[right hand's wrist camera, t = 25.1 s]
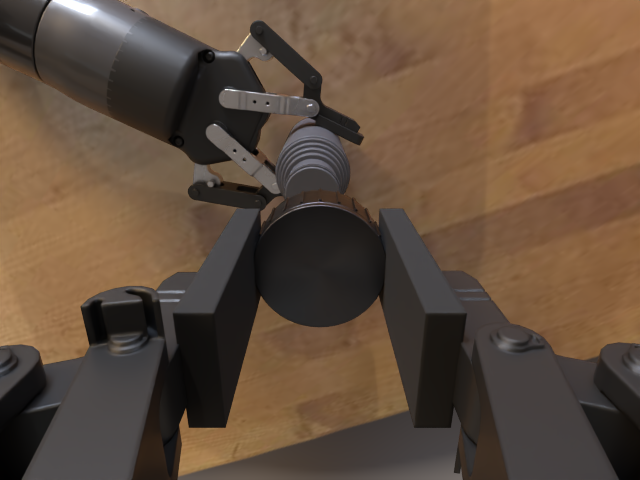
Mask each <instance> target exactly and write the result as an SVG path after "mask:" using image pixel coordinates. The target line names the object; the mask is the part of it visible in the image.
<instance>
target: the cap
mask: <svg viewBox="0 0 640 480" xmlns="http://www.w3.org/2000/svg"><path fill="white" fill-rule="evenodd" d="M258 236H260V238H259V240H258V243H257V246H256V249H255V252H254V270H255V283H256V286H257V288H258V291H259V293H260V294H261V296H262V298H263V299H264V300H265V302H266V303H267V304H268V305H269V306H270V307H271V308H272V309H273V310H274V311H275V312H277V313H278V314H279V315H280V316H282V317H284V318H286V319H287V320H290V321H292V322H294V323H297V324H301V325H305V326H310V327H329V326H335V325H339V324H342V323H345V322H348V321H350V320H352V319H354V318H356V317H358V316H359V315H361V314H362V313H363V312H365V311H366V310H367V309H368V308H369V307H370V306H371V305H372V304H373V302H374V301H375V300H376V299H377V297H378V295H379V294H380V292H381V290H382V288H383V285H384V281H385V265H386V253H385V250H384V246H383V244H382V241H381V238H380V237H382V236H381V233H380V231H379V228H378V225H377V223H376V222H374V221H373V219H372V218H371V216H370V215H369V212H368V209H367V208H366V209H364V208H363V207H362V206H361V205H360V204H359V203H358V202H356V201H355V198H349V197H347V196H345V195H343V194H340V193H339V191H336V192H332V191H326V190H322V189H319V190H314V191H307V192H304V191H302V192H301V193H300V194H297V195H294V196H292V197H290V198H288V197H287V198H286V199H285V201H284V202H282V203H281V204H280V205H279V206H277V207H276V208H273V209H272V212H271V214H270V216H269V217H268V219H267V221H264V222H263V225H262V227H261V230H260V233H259V235H258Z"/></svg>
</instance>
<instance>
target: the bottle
mask: <svg viewBox="0 0 640 480" xmlns="http://www.w3.org/2000/svg"><path fill="white" fill-rule="evenodd" d="M275 176H276V182H277V185H278V188H279V190H280V192H281V194H282V196H283V197H284V198H285V199H286V198H287V197H288V198H290V197H292V196H294V195H297V194H300V193H301V192H302V191H304V192H307V191H314V190H319V189H322V190H326V191H332V192H336V191H339V193H340V194H343V195H344V193H345V192H346V189H347V187H348V184H349V180H350V166H349V162H348V159H347V157H346V154H345V152H344V149H343V147H342V144H341V142H340V139H339V137H338V135H337V134H335V133H332V132H330V131H329V130H327V129H325V128H322V127H320V126H318V125H316V124H315V120H313V119H311V118H306V119H304V120H301V121H300V122H298V123H297V124H296V125H295V126H294V127H293V128H292V130H291V132H290V134H289V136H288V138H287V140H286V142H285V145H284V147H283V149H282V151H281V153H280V155H279V158H278V160H277V164H276V170H275Z"/></svg>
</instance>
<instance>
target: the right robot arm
mask: <svg viewBox="0 0 640 480" xmlns="http://www.w3.org/2000/svg"><path fill="white" fill-rule="evenodd" d="M260 230H261V216H260V209H236V211H235V213H234V214H233V216H232V218H231V219H230V221H229V222H228V224H227V226H226V227H225V229H224V230H223V232H222V234H221V235H220V237H219V239H218V240H217V242H216V243H215V245H214V247H213V248H212V250H211V252H210V253H209V255H208V256H207V258H206V260H205V261H204V263H203V264H202V266H201V268H200V269H199V271H198V272H177V273H176V274H174V275H172V276H171V277H169V278H167V279H166V280H164V281H163V282H162V283H161V285H160V286H159V287H158V289H157V290H156V291H155V290H154V289H152V288H148V287H143V286H126V287H120V288H114V289H111V290H108V291H105V292H102V293H99V294H97V295H95V296H93V297H92V298H90V299H88V300H87V301H86V302H85V303H84V304H83V305H82V306H81V311H82V315H83V319H84V324H85V328H86V332H87V337H88V341H89V345H90V347H89V349H88V350H87V352H86V354H85V356H84V357H80V358H76V359H72V360H66V361H61V362H56V363H51V364H45V365H43V363H42V360H41V356H40V353H39V351H38V350H37V349H35V348H34V347H33V346H27V345H10V346H8V345H7V346H1V347H0V480H177V478H178V470H179V462H180V454H181V446H182V443H181V435H180V429H179V423H180V421H181V418H182V416H183V414H184V411H185V409H186V411H187V418H188V425H189V428H226V424H227V420H228V416H229V413H230V409H231V405H232V401H233V398H234V394H235V390H236V386H237V383H238V379H239V375H240V371H241V368H242V364H243V360H244V356H245V353H246V349H247V345H248V341H249V338H250V334H251V330H252V326H253V323H254V319H255V315H256V311H257V308H258V304H259V300H260V296H261V294H260V293H259V291H258V288H257V286H256V283H255V270H254V252H255V249H256V246H257V243H258V240H259V238H260V236H258V235H259V233H260ZM379 231H380V233H381V236H382V237H380V238H381V241H382V244H383V246H384V250H385V253H386V265H385V281H384V285H383V288H382V290H381V292H380V294H379V297H380V301H381V305H382V309H383V313H384V316H385V320H386V324H387V328H388V331H389V335H390V339H391V343H392V346H393V350H394V354H395V358H396V361H397V365H398V369H399V373H400V376H401V380H402V384H403V388H404V391H405V395H406V399H407V403H408V406H409V410H410V414H411V418H412V421H413V425H414V428H451V423H452V416H453V409H454V407H455V410H456V412H457V414H458V417H459V419H460V422H461V429H460V436H459V442H458V448H457V455H456V461H455V468H454V473H460V469H462V477H463V480H640V344H635V343H632V344H631V343H613V344H607V345H606V346H605V347H604V348H602V349H601V351H600V355H599V359H598V362H597V363H595V362H589V361H584V360H579V359H573V358H568V357H563V356H559V355H555V354H554V352H553V350H552V348H551V346H550V345H549V343H548V342H547V341H546V340H545V339H544V337H542V336H540V335H539V334H537V333H536V332H534V331H533V330H530V329H527V328H525V327H522V326H520V325H515V324H510V322H509V321H508V320H507V319H506V317H505V316H504V315H503V313H502V312H501V311H500V309H499V308H498V307H497V305H496V304H495V303H494V302H493V301H491V298H490V296H489V295H488V294H487V292H485V290H484V288H483V287H482V286H481V285H480V283H479V282H478V281H477V279H475V278H473V277H472V276H470V275H468V274H467V273H465V272H463V271H441V270H440V268H439V267H438V265H437V263H436V262H435V260H434V259H433V257H432V255H431V254H430V252H429V250H428V249H427V247H426V246H425V244H424V242H423V241H422V239H421V237H420V236H419V234H418V233H417V231H416V229H415V228H414V226H413V224H412V223H411V221H410V220H409V218H408V216H407V215H406V213H405V212H404V210H403V209H380V211H379Z"/></svg>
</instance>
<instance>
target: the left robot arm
mask: <svg viewBox="0 0 640 480" xmlns="http://www.w3.org/2000/svg"><path fill="white" fill-rule="evenodd" d="M273 57H275V58H276V59H277V60H278V61H280V62H281V63H282V64H283V65H284V66H285V67H286V68H287V69H288V70H290V71H291V72H292V73H293V74H294V75H295V76H296V77H297V78H298V79H299V80H301V81H302V82H303V83H304V94H303V97H299V96H291V95H285V94H278V93H270V92H266V91H265V89H264V88H263V86H262V84H261V82H260V80H259V79H258V77H257V75H256V73H255V71H254V70H253V68H252V66H251V64H250V62H249V61H250V60H251V59H252V58H259V59H260V60H262V61H270V60H271V59H272V58H273ZM0 63H2V64H4V65H6V66H8V67H10V68H12V69H14V70H17V71H19V72H21V73H23V74H25V75H28V76H30V77H32V78H34V79H36V80H38V81H41V82H43V83H45V84H47V85H49V86H51V87H53V88H55V89H57V90H58V91H60V92H62V93H63V94H65V95H66V96H68V97H70V98H71V99H73V100H75V101H77V102H79V103H81V104H83V105H85V106H87V107H89V108H91V109H93V110H96V111H98V112H100V113H102V114H104V115H106V116H109V117H111V118H113V119H115V120H118V121H120V122H122V123H124V124H126V125H128V126H131V127H133V128H135V129H137V130H139V131H142V132H144V133H146V134H148V135H150V136H153V137H155V138H157V139H159V140H161V141H164V142H166V143H168V144H170V145H172V146H175V147H177V148H179V149H181V150H182V151H183V152H185V153H186V154H187V156H188V157H189V158H190V159H191V160H192V161H193V162H194V163H195V167H194V179H193V184H192V185H191V186H190V187H189V189H188V194H189V196H190V197H191V198H192V199H194V200H198V201H204V202H210V203H216V204H221V205H227V206H233V207H239V208H245V209H260V211H261V210H263V209H264V208H265V207H266V205H267V204H268V203H269V202H270V201H271V200H272V199H274V198H275V197H277V196H282V194H281V192H280V190H279V188H278V185H277V182H276V176H275V170H276V167H275V166H274V165H273V164H272V163H271V162H270V161H269V160H268V159H267V157H266V156H265V155H264V154H263V153H262V152H261V151H260V150H259V149H258V148H257V145H258V142H259V140H260V134H261V128H262V127H263V126H264V124H265V123H266V122H267V120H268V118H269V116H270V114H271V113H275V114H288V115H296V116H304V117H309V118H311V119H313V120H315V124H316V125H318V126H320V127H322V128H325V129H327V130H329V131H330V132H332V133H335V134H337V135H339V136H341V137H343V138H345V139H347V140H349V141H351V142H353V143H355V144H357V145H360V144H361V142H362V140H363V138H364V136H363V135H362V134H360V133H359V132H358V131H359V129H360V126H359V125H358V124H357V123H356V122H355V121H354V120H353V119H351V118H349V117H347V116H345V115H343V114H341V113H339V112H337V111H335V110H333V109H331V108H329V107H327V106H325V105H324V104H323V103H322V101H321V98H320V94H321V84H322V76H321V75H320V73H319V72H317V71H316V70H315V69H314V68H313V67H312V66H311V65H310V64H309V63H308V62H307V61H306V60H304V59H303V58H302V57H301V56H300V55H299V54H298V53H297V52H296V51H295V50H294V49H293V48H291V47H290V46H289V45H288V44H287V43H286V42H285V41H284V40H283V39H282V38H281V37H280V36H278V35H277V34H276V33H275V32H274V31H273V30H272V29H271V28H270V27H269V26H268V25H266V24H265V23H264V22H263V21H260V20H257V21H255V22H253V23H252V25H251V27H250V34H249V35H248V37H247V38H246V39H245V41H244V42H243V43H242V45H241V46H240V48H239V49H238V50H237V52H235V51H219V50H216V49H214V48H212V47H210V46H208V45H206V44H204V43H202V42H200V41H198V40H196V39H194V38H192V37H190V36H188V35H186V34H184V33H182V32H180V31H178V30H176V29H174V28H172V27H170V26H168V25H166V24H164V23H162V22H160V21H158V20H156V19H154V18H152V17H150V16H149V15H148V14H147V13H145V12H144V11H142V10H140V9H138V8H133V7H130V6H128V5H126V4H125V3H123V2H121V1H118V0H0ZM244 158H245V159H246V160H244ZM230 160H233V161H235V162H236V163H237V164H238V165H239V166H240V167H241V168H242V169H243V170H244V171H246V172H247V173H248V174H249V175H251V176H253V177H255V178H256V179H257V180H258V181H259V182H260V183H261V184H262V186H261V187H260V188H259V187H254V186H248V185H242V184H237V183H231V182H225V181H223V178H222V176H221V175H220V174H219V173H217V172H214V171H213V170H212V169H211V168H210V164H214V163H220V162H225V161H230Z"/></svg>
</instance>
